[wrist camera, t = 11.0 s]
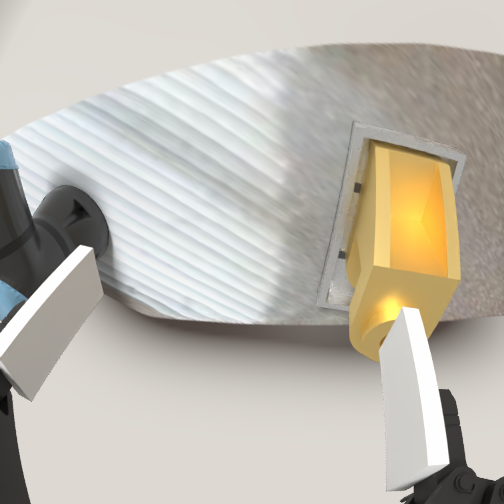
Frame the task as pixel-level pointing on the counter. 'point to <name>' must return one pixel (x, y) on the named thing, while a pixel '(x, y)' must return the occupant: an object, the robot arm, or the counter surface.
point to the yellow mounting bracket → (401, 244)
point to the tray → (334, 272)
